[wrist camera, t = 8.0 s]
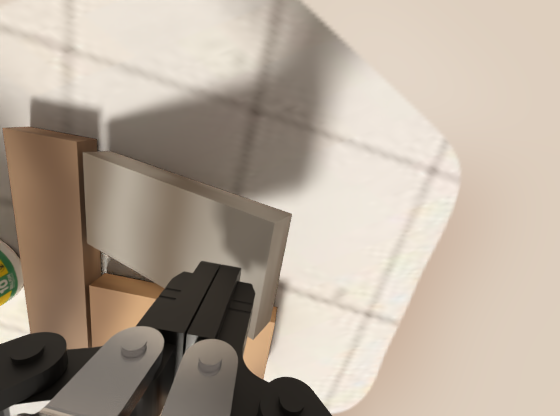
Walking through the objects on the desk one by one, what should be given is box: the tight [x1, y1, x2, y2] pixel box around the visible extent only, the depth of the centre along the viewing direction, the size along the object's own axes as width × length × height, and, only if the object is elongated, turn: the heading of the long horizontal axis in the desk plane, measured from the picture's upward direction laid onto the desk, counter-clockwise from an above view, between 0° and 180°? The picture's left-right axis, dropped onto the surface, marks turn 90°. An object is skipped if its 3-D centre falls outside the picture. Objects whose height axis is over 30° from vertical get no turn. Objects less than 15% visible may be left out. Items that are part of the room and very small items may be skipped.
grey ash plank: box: [83, 151, 292, 340], centre depth 14 cm, size 12×6×2 cm, turn 80°
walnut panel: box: [3, 127, 101, 349], centre depth 18 cm, size 4×15×2 cm, turn 170°
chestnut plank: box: [89, 273, 277, 379], centre depth 19 cm, size 12×6×2 cm, turn 80°
